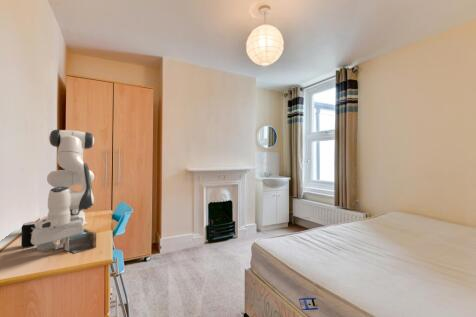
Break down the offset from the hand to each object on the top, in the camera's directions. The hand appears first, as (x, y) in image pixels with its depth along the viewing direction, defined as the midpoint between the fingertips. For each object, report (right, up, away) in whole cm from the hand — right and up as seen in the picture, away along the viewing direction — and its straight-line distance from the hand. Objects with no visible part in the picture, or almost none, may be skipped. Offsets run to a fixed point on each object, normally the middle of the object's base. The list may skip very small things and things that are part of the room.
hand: (59, 248), depth 109 cm
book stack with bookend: (+4, -2, +7) cm, 9 cm away
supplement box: (-12, -2, +7) cm, 14 cm away
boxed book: (+4, -2, +6) cm, 8 cm away
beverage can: (-23, -2, +9) cm, 25 cm away
